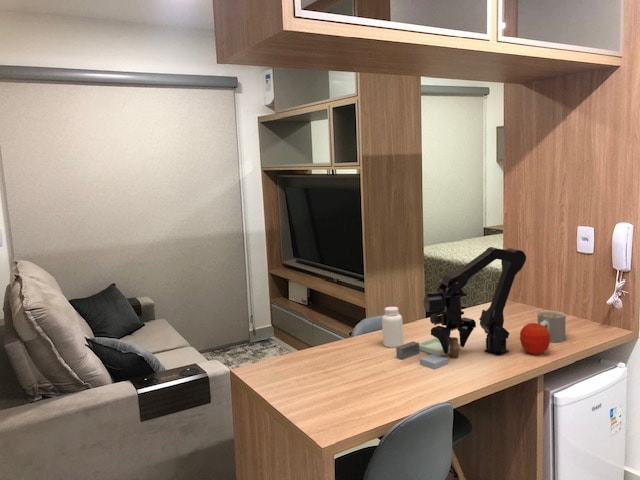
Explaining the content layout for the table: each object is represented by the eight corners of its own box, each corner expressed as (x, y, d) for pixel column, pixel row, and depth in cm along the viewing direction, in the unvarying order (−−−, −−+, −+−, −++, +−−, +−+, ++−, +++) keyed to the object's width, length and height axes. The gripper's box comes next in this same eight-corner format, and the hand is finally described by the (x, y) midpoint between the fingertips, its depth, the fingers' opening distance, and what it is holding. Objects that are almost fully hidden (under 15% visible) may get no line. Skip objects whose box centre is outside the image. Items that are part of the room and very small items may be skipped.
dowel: (460, 357, 194) (459, 338, 193) (454, 359, 192) (454, 340, 191) (453, 355, 196) (453, 336, 195) (448, 357, 195) (447, 338, 194)
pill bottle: (380, 346, 209) (378, 310, 207) (387, 340, 216) (385, 304, 214) (399, 349, 206) (397, 311, 204) (405, 342, 213) (404, 306, 211)
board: (448, 365, 188) (447, 358, 188) (434, 370, 184) (434, 363, 183) (432, 360, 193) (432, 353, 193) (419, 365, 189) (419, 358, 189)
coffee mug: (548, 333, 214) (548, 309, 213) (570, 339, 206) (571, 314, 204) (526, 339, 208) (526, 315, 207) (547, 346, 199) (548, 320, 198)
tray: (460, 349, 202) (460, 343, 201) (439, 357, 195) (439, 351, 194) (436, 342, 211) (435, 336, 211) (415, 349, 204) (415, 344, 204)
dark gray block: (419, 353, 200) (419, 343, 199) (402, 359, 195) (402, 349, 194) (413, 351, 202) (413, 341, 202) (396, 357, 197) (396, 347, 196)
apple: (554, 351, 194) (554, 321, 192) (542, 359, 187) (542, 327, 186) (527, 345, 201) (527, 316, 200) (515, 353, 195) (514, 322, 193)
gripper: (452, 300, 204) (453, 339, 206) (418, 309, 193) (420, 351, 195) (476, 305, 195) (477, 345, 197) (442, 315, 184) (443, 358, 186)
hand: (454, 350), depth 194 cm, fingers open, 9 cm apart
